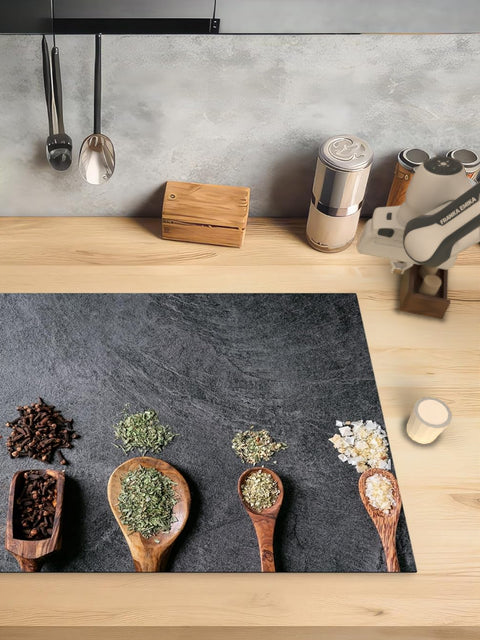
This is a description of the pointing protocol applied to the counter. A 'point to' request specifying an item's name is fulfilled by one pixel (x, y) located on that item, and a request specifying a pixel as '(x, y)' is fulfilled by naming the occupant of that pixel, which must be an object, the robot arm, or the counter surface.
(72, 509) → the counter surface
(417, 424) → the shot glass
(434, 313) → the spice rack
